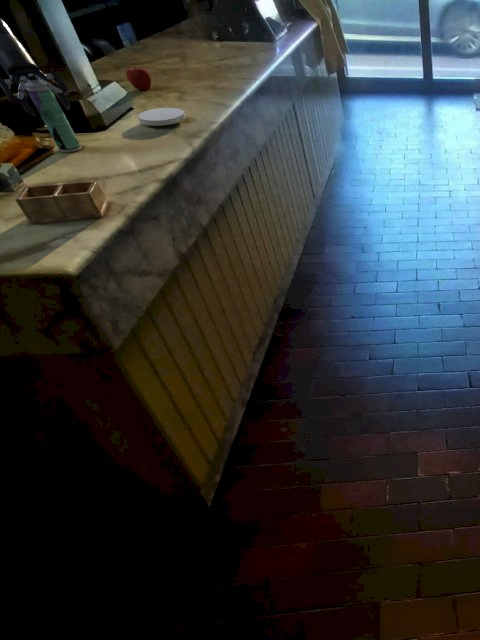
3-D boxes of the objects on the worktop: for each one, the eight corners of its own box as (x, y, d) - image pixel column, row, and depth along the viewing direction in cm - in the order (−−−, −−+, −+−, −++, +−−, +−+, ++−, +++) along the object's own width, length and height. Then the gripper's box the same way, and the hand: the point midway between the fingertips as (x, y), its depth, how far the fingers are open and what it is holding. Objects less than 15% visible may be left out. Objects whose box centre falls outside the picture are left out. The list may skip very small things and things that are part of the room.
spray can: (77, 144, 158) (38, 70, 144) (84, 149, 155) (45, 74, 141) (57, 149, 154) (15, 73, 140) (64, 153, 152) (22, 77, 138)
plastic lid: (168, 130, 169) (165, 122, 167) (131, 126, 171) (127, 118, 169) (196, 118, 179) (193, 110, 177) (160, 113, 181) (157, 106, 179)
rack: (31, 224, 121) (14, 199, 117) (40, 209, 127) (25, 186, 122) (102, 216, 125) (89, 193, 121) (108, 203, 131) (96, 180, 126)
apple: (129, 88, 200) (120, 65, 195) (151, 85, 204) (142, 62, 199) (136, 93, 196) (126, 69, 191) (158, 89, 201) (149, 67, 195)
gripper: (-22, 51, 137) (18, 108, 140) (40, 44, 145) (77, 98, 148) (-14, 70, 143) (24, 124, 146) (45, 62, 151) (80, 113, 154)
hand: (51, 111), depth 147 cm, fingers open, 8 cm apart
